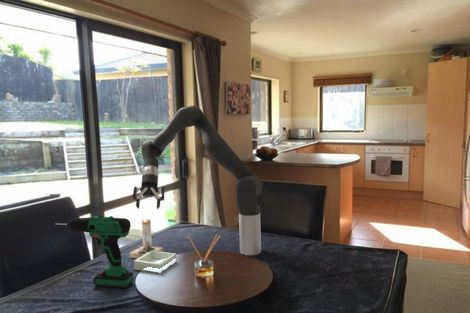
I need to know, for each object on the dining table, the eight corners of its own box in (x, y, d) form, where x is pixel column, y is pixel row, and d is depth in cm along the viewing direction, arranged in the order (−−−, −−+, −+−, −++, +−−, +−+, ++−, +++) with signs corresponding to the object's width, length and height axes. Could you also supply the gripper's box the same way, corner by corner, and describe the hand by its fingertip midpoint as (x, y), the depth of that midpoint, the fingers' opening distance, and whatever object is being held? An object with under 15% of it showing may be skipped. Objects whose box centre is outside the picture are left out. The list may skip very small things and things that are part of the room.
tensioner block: (143, 249, 167) (143, 243, 166) (162, 252, 163) (162, 245, 163) (129, 257, 157) (129, 251, 157) (149, 260, 154) (149, 253, 153)
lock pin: (146, 252, 164) (145, 219, 162) (153, 253, 162) (152, 219, 161) (141, 254, 160) (140, 221, 159) (148, 255, 159) (147, 222, 157)
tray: (152, 258, 156) (151, 250, 155) (176, 261, 151) (176, 253, 151) (134, 269, 144) (133, 260, 144) (160, 273, 140) (159, 264, 140)
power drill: (127, 289, 127) (123, 218, 125) (54, 284, 133) (49, 216, 131) (135, 282, 133) (131, 214, 130) (64, 277, 139) (59, 212, 136)
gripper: (134, 172, 172) (131, 204, 163) (165, 173, 174) (163, 204, 165) (135, 181, 178) (132, 211, 169) (165, 181, 180) (164, 211, 171)
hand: (147, 207), depth 167 cm, fingers open, 8 cm apart
